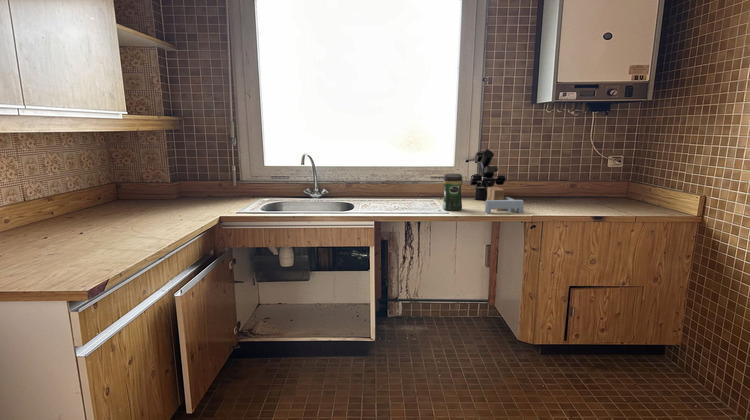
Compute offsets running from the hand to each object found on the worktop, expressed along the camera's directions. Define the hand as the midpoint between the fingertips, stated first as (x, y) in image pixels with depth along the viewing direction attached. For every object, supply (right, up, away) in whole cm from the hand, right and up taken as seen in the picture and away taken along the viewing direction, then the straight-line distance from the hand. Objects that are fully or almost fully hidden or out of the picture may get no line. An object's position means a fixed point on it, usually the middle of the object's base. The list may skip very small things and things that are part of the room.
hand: (490, 192), depth 238 cm
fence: (+1, -10, -16) cm, 19 cm away
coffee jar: (-23, -10, -12) cm, 28 cm away
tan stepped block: (+1, -9, -9) cm, 12 cm away
